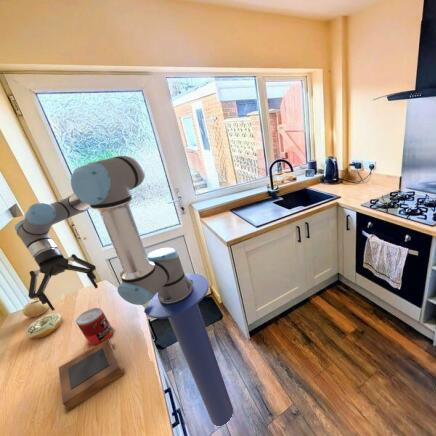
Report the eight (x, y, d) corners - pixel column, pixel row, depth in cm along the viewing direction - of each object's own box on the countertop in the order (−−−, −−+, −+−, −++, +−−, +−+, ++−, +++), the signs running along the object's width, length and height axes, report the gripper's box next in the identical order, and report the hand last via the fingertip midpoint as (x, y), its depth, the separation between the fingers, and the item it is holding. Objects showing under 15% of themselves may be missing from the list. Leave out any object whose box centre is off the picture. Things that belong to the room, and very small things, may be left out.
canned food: (105, 344, 90) (92, 322, 85) (83, 346, 90) (69, 324, 85) (118, 327, 97) (106, 306, 92) (98, 329, 97) (86, 308, 92)
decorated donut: (26, 345, 93) (21, 338, 92) (33, 327, 101) (28, 320, 100) (61, 330, 98) (56, 323, 97) (64, 314, 107) (60, 308, 105)
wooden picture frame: (112, 345, 89) (108, 338, 88) (123, 373, 78) (119, 366, 77) (63, 374, 80) (58, 367, 79) (68, 410, 70) (62, 403, 68)
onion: (31, 322, 104) (22, 309, 101) (24, 316, 108) (15, 304, 105) (54, 309, 111) (46, 297, 108) (47, 304, 114) (39, 292, 111)
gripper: (85, 243, 107) (112, 282, 104) (4, 274, 89) (34, 322, 86) (84, 235, 101) (112, 275, 99) (-3, 267, 84) (29, 317, 81)
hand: (76, 297), depth 93 cm, fingers open, 13 cm apart
